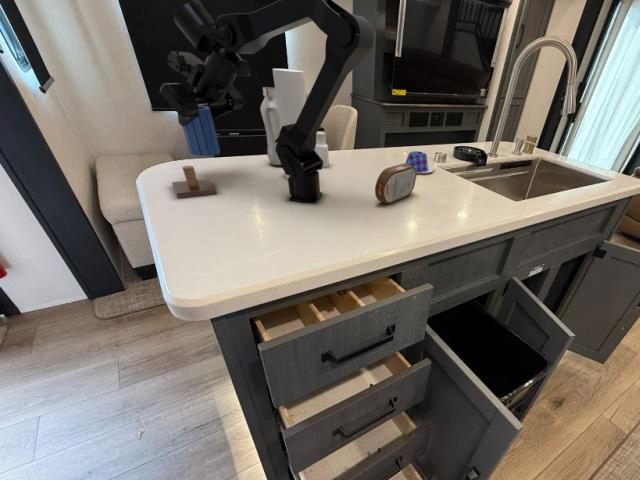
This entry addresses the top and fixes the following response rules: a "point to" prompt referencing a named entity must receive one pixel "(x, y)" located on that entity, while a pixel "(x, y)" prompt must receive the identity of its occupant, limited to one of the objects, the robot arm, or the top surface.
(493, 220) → the top surface
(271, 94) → the plastic bottle
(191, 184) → the stand
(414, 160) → the blue checkered hat
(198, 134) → the blue ribbed vase
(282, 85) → the cylindrical container
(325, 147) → the pepper shaker
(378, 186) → the tin
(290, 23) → the robot arm
